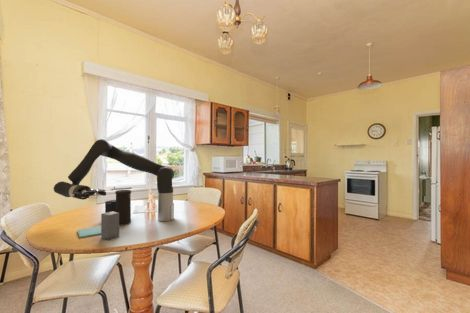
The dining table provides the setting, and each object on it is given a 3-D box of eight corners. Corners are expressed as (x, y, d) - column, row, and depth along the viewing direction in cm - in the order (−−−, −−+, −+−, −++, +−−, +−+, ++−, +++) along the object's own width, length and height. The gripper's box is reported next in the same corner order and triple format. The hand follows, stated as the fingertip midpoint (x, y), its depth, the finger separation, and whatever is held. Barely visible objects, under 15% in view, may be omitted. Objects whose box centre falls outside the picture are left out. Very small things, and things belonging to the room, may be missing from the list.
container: (134, 221, 139) (134, 189, 139) (122, 226, 130) (122, 191, 130) (123, 220, 142) (123, 188, 142) (111, 224, 133) (111, 190, 133)
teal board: (105, 226, 129) (105, 225, 129) (109, 232, 119) (109, 231, 119) (77, 231, 121) (77, 229, 121) (79, 238, 111) (79, 236, 111)
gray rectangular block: (112, 234, 116) (112, 211, 116) (119, 236, 113) (119, 212, 113) (101, 238, 111) (101, 213, 111) (108, 240, 108) (108, 215, 108)
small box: (130, 218, 147) (130, 199, 147) (124, 221, 140) (124, 202, 140) (111, 217, 148) (111, 199, 148) (104, 220, 141) (104, 201, 141)
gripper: (65, 186, 119) (82, 189, 111) (93, 183, 131) (110, 186, 124) (65, 200, 119) (82, 204, 111) (93, 196, 131) (110, 199, 124)
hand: (97, 194), depth 117 cm, fingers open, 8 cm apart
